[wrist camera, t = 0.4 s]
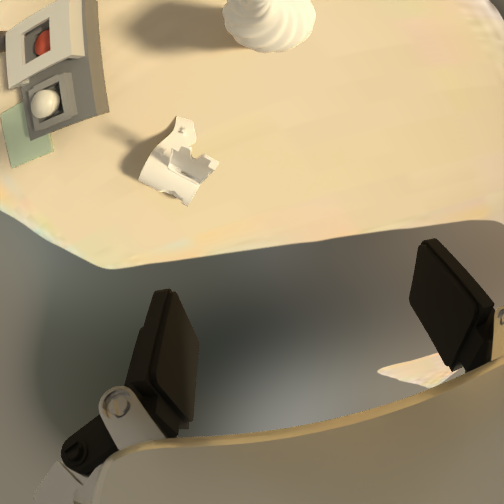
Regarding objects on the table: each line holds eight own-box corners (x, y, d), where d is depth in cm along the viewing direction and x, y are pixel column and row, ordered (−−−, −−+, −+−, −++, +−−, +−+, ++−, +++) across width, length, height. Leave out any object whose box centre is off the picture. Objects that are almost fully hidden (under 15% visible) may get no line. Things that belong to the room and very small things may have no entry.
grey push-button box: (32, 33, 23) (3, 31, 16) (97, 1, 23) (72, -11, 16) (45, 135, 32) (16, 147, 26) (109, 111, 32) (84, 119, 26)
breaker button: (45, 37, 23) (34, 36, 20) (66, 27, 23) (55, 24, 20) (47, 60, 25) (35, 60, 22) (68, 49, 25) (56, 48, 22)
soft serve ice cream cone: (296, 12, 27) (335, -29, 13) (288, 68, 31) (323, 55, 17) (230, 3, 26) (227, -47, 12) (222, 59, 30) (211, 38, 16)
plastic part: (144, 174, 38) (113, 208, 28) (177, 113, 34) (152, 124, 24) (189, 199, 40) (174, 240, 30) (225, 140, 36) (220, 162, 26)
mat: (2, 114, 29) (0, 114, 28) (42, 91, 29) (40, 91, 28) (14, 167, 34) (11, 168, 33) (53, 151, 34) (51, 152, 33)
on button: (37, 94, 25) (29, 96, 23) (58, 84, 24) (49, 85, 23) (41, 119, 26) (33, 122, 25) (62, 110, 26) (53, 112, 25)
